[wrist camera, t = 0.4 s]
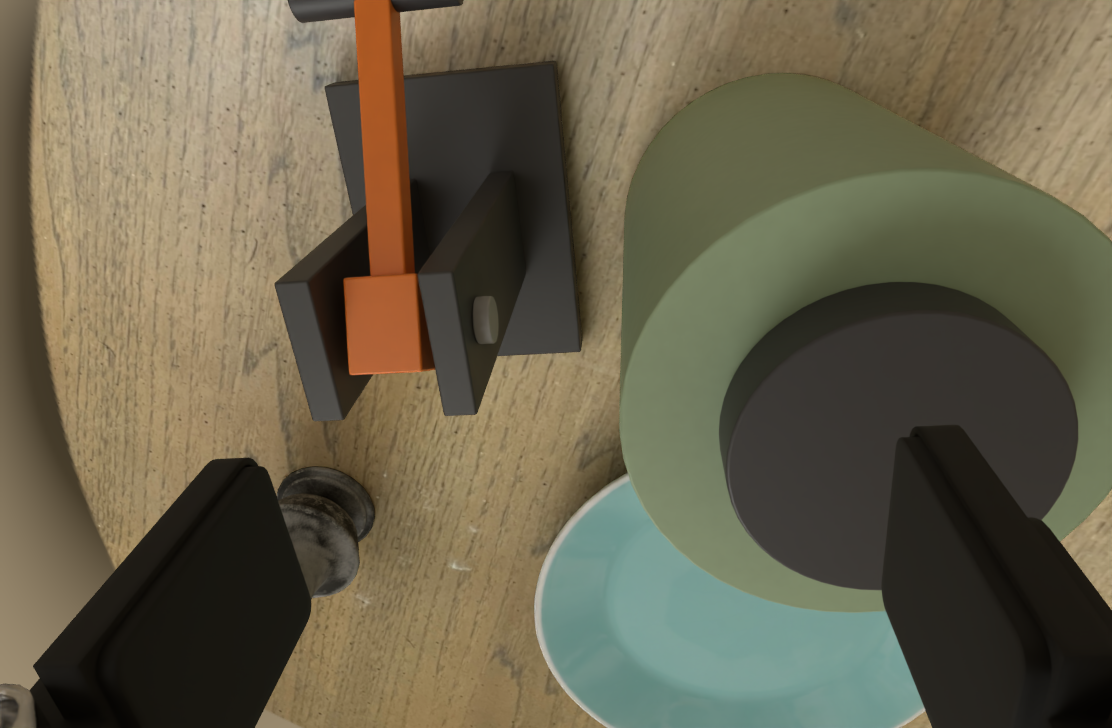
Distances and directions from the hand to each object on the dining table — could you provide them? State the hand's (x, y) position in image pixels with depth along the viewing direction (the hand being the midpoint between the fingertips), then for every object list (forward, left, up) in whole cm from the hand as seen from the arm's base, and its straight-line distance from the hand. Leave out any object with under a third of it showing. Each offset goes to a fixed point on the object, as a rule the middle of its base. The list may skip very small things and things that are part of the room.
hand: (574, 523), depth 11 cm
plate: (+23, +6, -22) cm, 32 cm away
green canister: (+2, +6, -22) cm, 23 cm away
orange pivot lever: (-2, -6, -14) cm, 16 cm away
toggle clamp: (+2, -6, -22) cm, 23 cm away
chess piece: (+16, -16, -22) cm, 32 cm away
